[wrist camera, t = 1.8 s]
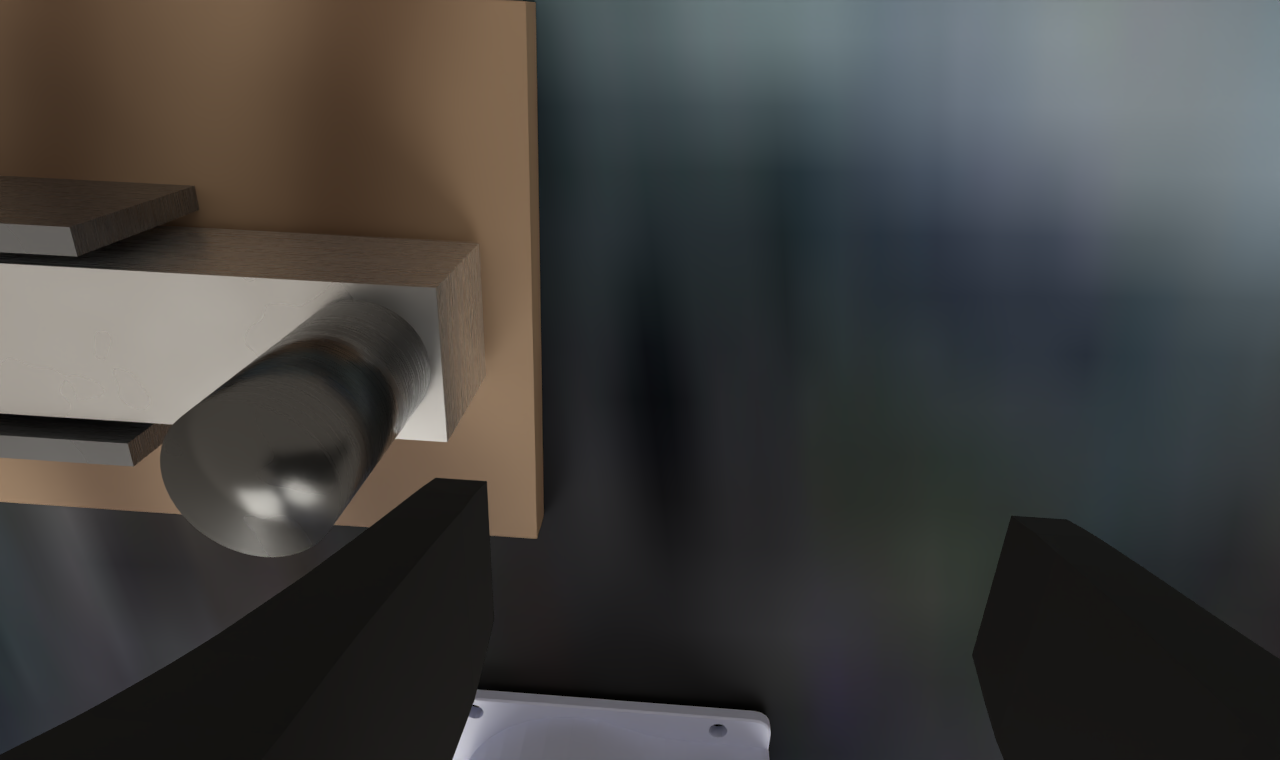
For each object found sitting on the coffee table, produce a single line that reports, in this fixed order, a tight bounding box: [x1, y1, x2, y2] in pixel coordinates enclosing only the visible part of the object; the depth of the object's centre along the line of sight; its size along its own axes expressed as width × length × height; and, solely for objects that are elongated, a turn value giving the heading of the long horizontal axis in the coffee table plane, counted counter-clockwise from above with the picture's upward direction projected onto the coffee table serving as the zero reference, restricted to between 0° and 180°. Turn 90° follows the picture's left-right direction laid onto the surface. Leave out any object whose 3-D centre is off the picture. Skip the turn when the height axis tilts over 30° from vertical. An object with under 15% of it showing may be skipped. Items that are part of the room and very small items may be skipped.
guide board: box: [0, 0, 544, 539], centre depth 18 cm, size 20×12×1 cm, turn 88°
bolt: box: [0, 225, 486, 557], centre depth 14 cm, size 12×3×7 cm, turn 88°
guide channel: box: [0, 176, 199, 467], centre depth 16 cm, size 6×5×4 cm
